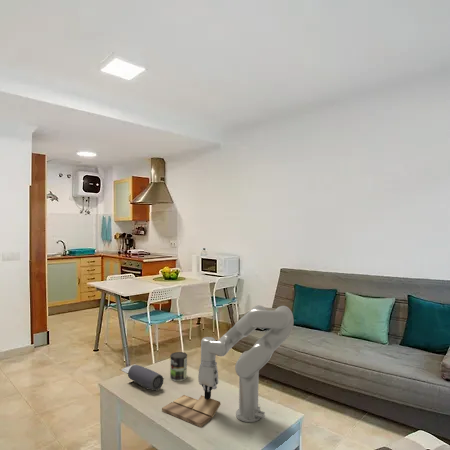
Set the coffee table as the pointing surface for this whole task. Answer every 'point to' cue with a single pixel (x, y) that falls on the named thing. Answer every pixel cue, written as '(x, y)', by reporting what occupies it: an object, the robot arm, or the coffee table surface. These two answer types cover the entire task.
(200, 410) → the plank near
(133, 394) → the coffee table surface
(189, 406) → the plank far
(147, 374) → the bluetooth speaker
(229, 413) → the coffee table surface
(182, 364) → the coffee can
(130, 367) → the baseboard molding
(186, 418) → the floor plank
